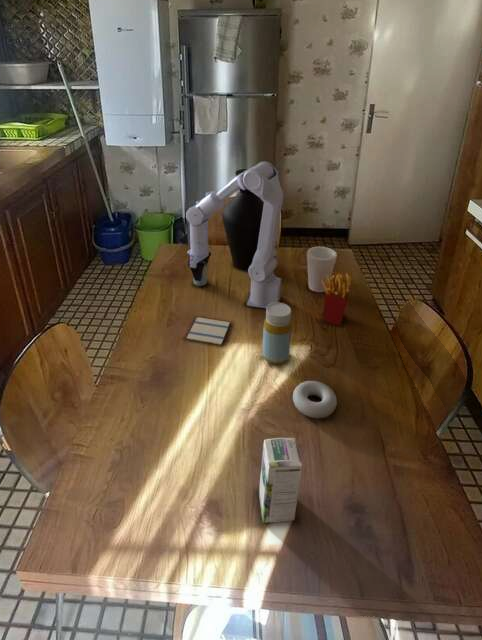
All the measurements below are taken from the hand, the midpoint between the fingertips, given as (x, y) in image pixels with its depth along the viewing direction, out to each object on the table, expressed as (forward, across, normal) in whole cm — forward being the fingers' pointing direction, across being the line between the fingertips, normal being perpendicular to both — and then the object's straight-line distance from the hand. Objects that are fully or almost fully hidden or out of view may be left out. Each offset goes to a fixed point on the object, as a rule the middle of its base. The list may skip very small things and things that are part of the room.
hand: (200, 276), depth 146 cm
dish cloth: (+3, +24, +10) cm, 26 cm away
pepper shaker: (+2, 0, 0) cm, 2 cm away
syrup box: (+3, +70, +36) cm, 79 cm away
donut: (+3, +44, +41) cm, 60 cm away
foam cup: (+3, -8, +39) cm, 40 cm away
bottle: (+3, +30, +30) cm, 42 cm away
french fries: (+3, +8, +44) cm, 45 cm away
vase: (+3, -17, +12) cm, 21 cm away
